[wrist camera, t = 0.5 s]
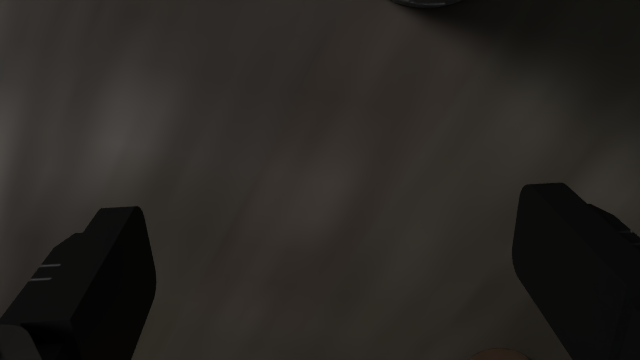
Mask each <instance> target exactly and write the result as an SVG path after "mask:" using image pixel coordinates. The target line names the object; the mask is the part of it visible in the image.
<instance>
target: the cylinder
mask: <svg viewBox="0 0 640 360" xmlns="http://www.w3.org/2000/svg"><path fill="white" fill-rule="evenodd" d="M469 360H529V359H528V358H527V357H526V356H524V355H523V354H521V353H519V352H517V351H514V350H510V349H504V348H495V349H488V350H485V351H482V352H480V353H477V354H476V355H474V356H472V357H471V358H470V359H469Z"/></svg>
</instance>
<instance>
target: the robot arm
mask: <svg viewBox="0 0 640 360" xmlns="http://www.w3.org/2000/svg"><path fill="white" fill-rule="evenodd" d="M391 1H393V2H395V3H398V4H402V5H406V6H410V7H414V8H436V7H441V6H447V5H452V4H454V3H457V2H459V1H462V0H391ZM512 259H513V265H514V269H515V272H516V274H517V276H518V278H519V280H520V281H521V283H522V284H523V286H524V287H525V289H526V290H527V292H528V293H529V295H530V296H531V298H532V299H533V301H534V302H535V304H536V305H537V307H538V308H539V310H540V311H541V313H542V314H543V316H544V317H545V319H546V320H547V322H548V323H549V325H550V326H551V328H552V329H553V331H554V332H555V334H556V335H557V337H558V338H559V340H560V341H561V343H562V344H563V346H564V347H565V349H566V350H567V352H568V353H569V355H570V356H571V358H572V359H573V360H640V238H639V237H638V236H637V235H636V234H635V233H631V232H630V229H629V228H628V227H627V226H626V225H624V224H623V223H622V222H621V221H620V220H619V219H618V218H616V217H615V216H614V215H612V214H610V213H608V212H606V211H604V210H602V209H600V208H598V207H596V206H594V205H592V204H587V203H586V202H585V201H583V200H582V199H581V198H580V197H579V196H578V195H577V194H576V193H575V192H573V191H572V190H571V189H570V188H569V187H568V186H567V185H566V184H564V183H546V184H529V185H525V186H524V187H523V188H522V190H521V193H520V197H519V204H518V211H517V218H516V225H515V232H514V239H513V246H512ZM155 291H156V271H155V266H154V261H153V256H152V251H151V247H150V242H149V237H148V232H147V228H146V223H145V218H144V215H143V212H142V210H141V208H140V207H138V206H133V207H116V208H101V209H100V210H99V211H98V212H97V213H96V215H95V216H94V218H93V219H92V221H91V222H90V223H89V225H88V226H87V228H86V229H85V231H84V232H83V233H75V234H73V235H72V236H70V237H69V238H67V239H66V240H65V241H63V242H62V243H60V244H59V245H57V246H56V247H54V248H53V250H52V251H51V252H50V254H49V255H48V256H47V258H46V259H45V260H44V262H43V263H42V267H39V268H38V270H37V271H36V272H35V273H34V275H33V276H32V277H31V281H29V282H28V283H27V284H26V285H25V287H24V288H23V289H22V291H21V292H20V293H19V295H18V296H17V297H16V299H15V300H14V301H13V302H12V304H11V305H10V306H9V308H8V309H7V310H6V312H5V313H4V314H3V316H2V317H1V318H0V360H131V358H132V356H133V353H134V350H135V348H136V345H137V342H138V340H139V337H140V334H141V332H142V329H143V326H144V324H145V321H146V319H147V316H148V313H149V311H150V308H151V305H152V303H153V300H154V296H155Z"/></svg>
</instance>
